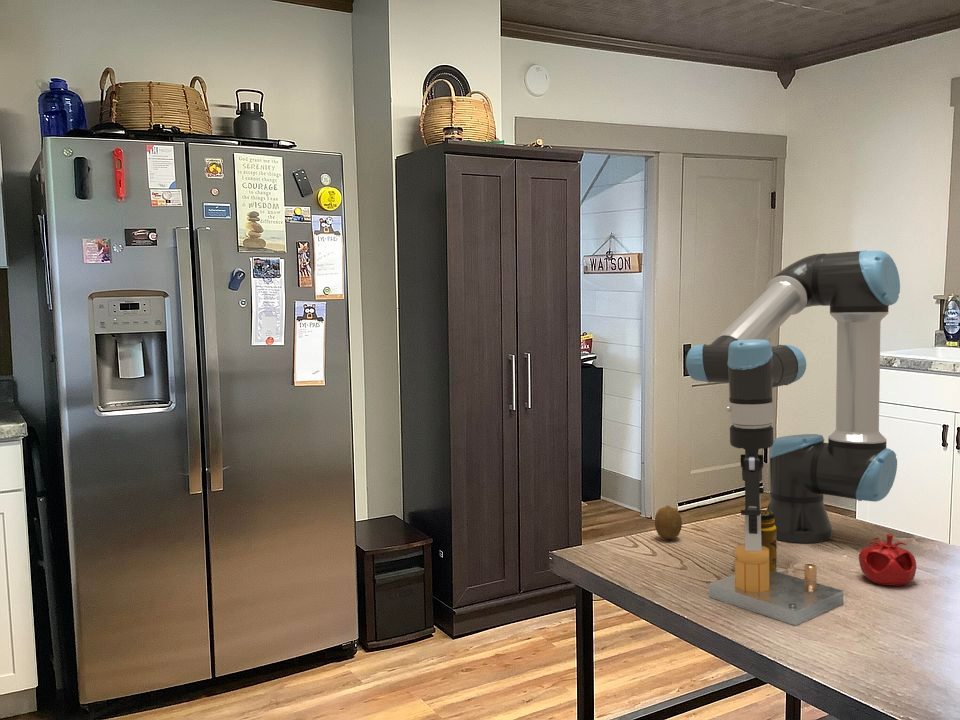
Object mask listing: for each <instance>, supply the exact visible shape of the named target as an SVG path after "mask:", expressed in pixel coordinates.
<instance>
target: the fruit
mask: <svg viewBox="0 0 960 720" xmlns="http://www.w3.org/2000/svg"><path fill="white" fill-rule="evenodd" d="M682 525H683V521H682V516H681V514H680V512H679V510H678V509H676V508H675V507H672V506H670V505H666V506H664V507H661V508H660V507H659V509H658V510H657V511H656V513H655V515H654V527H655V531H656V532H657V534H658V536H660V537H661V538H663V539H664V540H666V541H671V540H673V539H675V538H677V537H678V536H679V535H680V533H681V531H682V527H683V526H682Z"/></svg>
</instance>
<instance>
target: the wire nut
mask: <svg viewBox="0 0 960 720" xmlns="http://www.w3.org/2000/svg"><path fill="white" fill-rule="evenodd" d="M761 549H762V551H749V550H745V543H743V544H737V545H735V546H734V567H735V571H734V575H735V587H736V588H739V589H741V590H744V591H751V592H762V591H766V590H769V589H770V588H769V549H768V548H767V547H765V546H761Z"/></svg>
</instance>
